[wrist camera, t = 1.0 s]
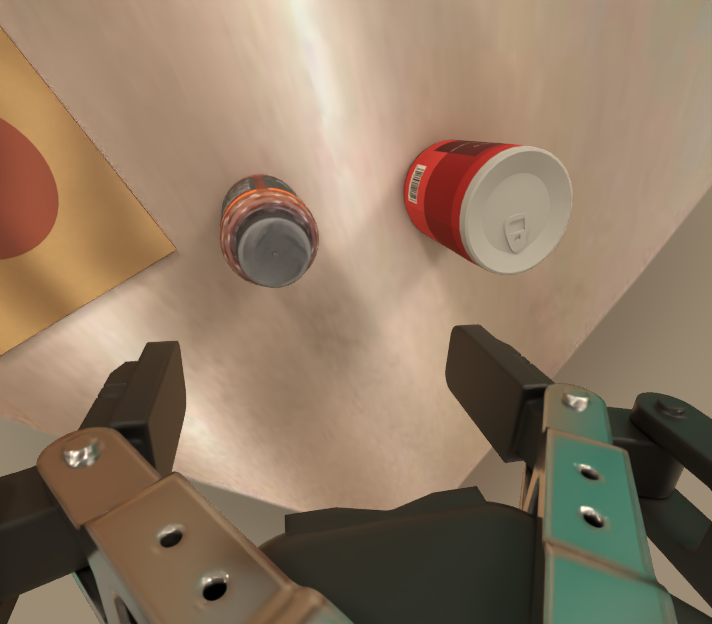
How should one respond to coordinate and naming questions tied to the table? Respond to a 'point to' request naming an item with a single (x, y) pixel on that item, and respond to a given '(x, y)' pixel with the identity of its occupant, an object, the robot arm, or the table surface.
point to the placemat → (58, 210)
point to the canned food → (490, 202)
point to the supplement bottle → (267, 232)
